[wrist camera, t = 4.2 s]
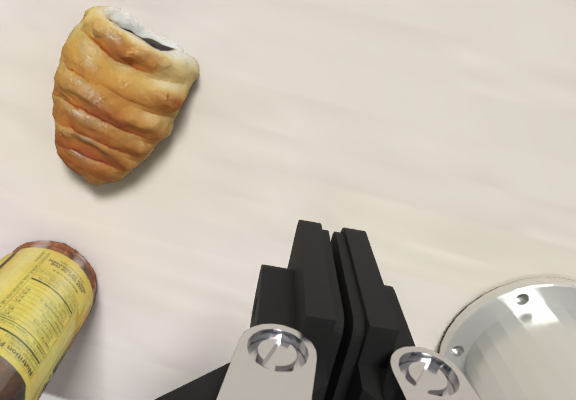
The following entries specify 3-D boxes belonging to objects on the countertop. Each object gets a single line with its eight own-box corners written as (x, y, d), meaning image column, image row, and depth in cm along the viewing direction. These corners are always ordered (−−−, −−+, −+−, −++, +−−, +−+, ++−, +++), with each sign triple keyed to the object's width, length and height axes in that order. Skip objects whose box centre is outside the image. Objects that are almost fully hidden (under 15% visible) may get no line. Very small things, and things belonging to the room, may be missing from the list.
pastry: (145, 194, 30) (125, 220, 26) (39, 143, 28) (3, 162, 25) (210, 56, 26) (197, 64, 23) (94, -9, 25) (62, -11, 22)
